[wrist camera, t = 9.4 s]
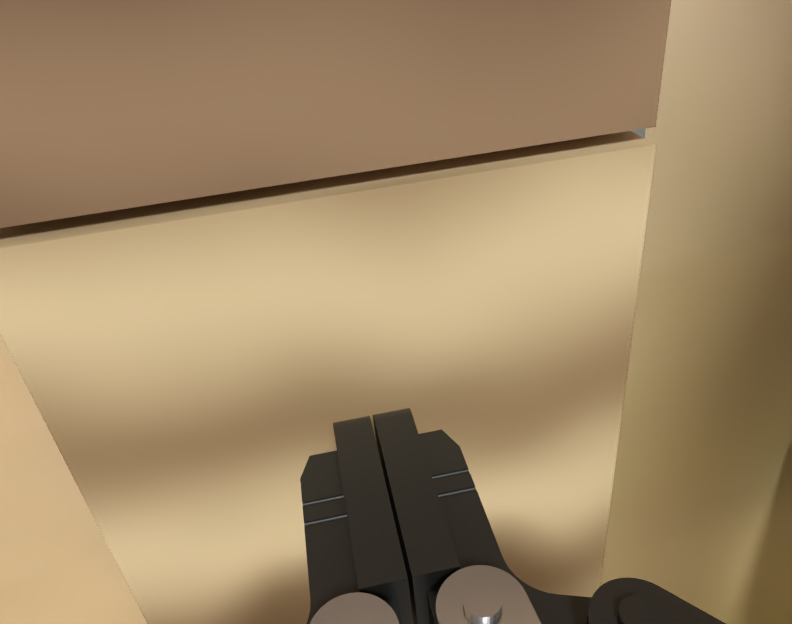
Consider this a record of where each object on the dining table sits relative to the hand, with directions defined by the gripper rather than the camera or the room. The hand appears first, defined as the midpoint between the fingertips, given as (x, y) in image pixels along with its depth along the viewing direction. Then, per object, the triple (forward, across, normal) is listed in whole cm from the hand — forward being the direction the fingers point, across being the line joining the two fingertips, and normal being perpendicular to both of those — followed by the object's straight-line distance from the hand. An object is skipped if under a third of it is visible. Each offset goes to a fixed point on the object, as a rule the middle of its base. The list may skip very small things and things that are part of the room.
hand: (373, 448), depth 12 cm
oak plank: (+3, 0, +6) cm, 7 cm away
